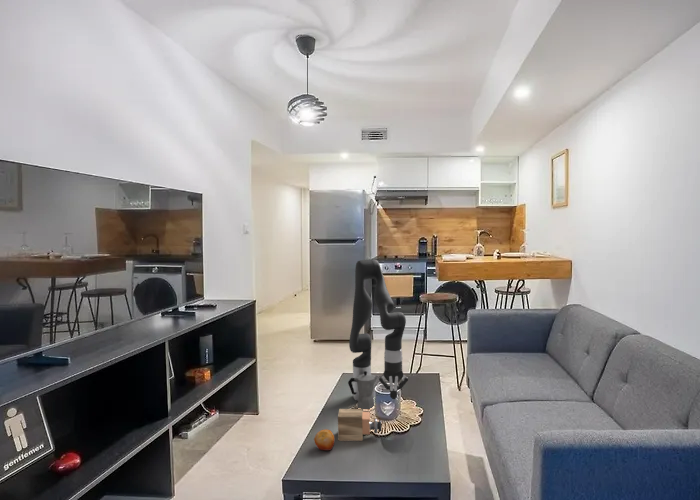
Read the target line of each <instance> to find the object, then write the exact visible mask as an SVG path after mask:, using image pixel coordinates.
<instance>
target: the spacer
mask: <svg viewBox="0 0 700 500" xmlns="http://www.w3.org/2000/svg"><path fill="white" fill-rule="evenodd" d="M370 412H371V411H363V414H362V432H363V435H370V434H371V432H370V431H371V430H370V422H371V419H370V418H371V415H370V414H371V413H370Z"/></svg>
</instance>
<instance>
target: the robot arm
mask: <svg viewBox="0 0 700 500" xmlns="http://www.w3.org/2000/svg"><path fill="white" fill-rule="evenodd" d="M382 270H383V269H382V267H381V265H380V262H379V261H378V260H377V259H373V258H372V259H362V260H357V262H356V264H355V270H354V272H355V273H354V277H355V278H354V280H355V281H354V283H355V286H354V296H353V297H354V298H353V305H352V308H353V309H352V320H351V321H352V322H351V330H350V334H349V340H348V341H349V344H348V345H349V350H350V352H351V353H353V354H358V353H361V354H360V355H358V356H356V357H355V358H353V360H352V378H354V377H357V376H359V375H362V374H364V371H367V374H370V375H372V338H371V336H370V334H369V333H360V332H361V330H362V328H364V326H365V324H366V323H367V322H368V321H369V319H370V318H371V316H372V311H373V300H374V302H375V304H376V306H377V309H378V312H379V319H380V321H379V322H380V325H381V327H382V328H383V329H384V330H385V331H390V330H391V331H392V332H391V333H388V334H386V335H385V338H384V354H383V355H384V356H383V357H384V358H383V360H384V361H383V362H384V366H383V367H384V369H383V370H384V371H383V374H382V375H379V376H378V380H379V382H380V383H381V385H382V386H383V387H384V388H385V390H389V397H390V398H391V400H396V399H397V397H398V391H400V390H401V389H403V388H404V386H405V385H406V383H407V382H408V381H409V378H408V376H406V375H405V374H404V372H403V349H402V347H403V346H402V343H403V342H402V339H403V335H404V331H405V329H406V325H407V323H406V321H407V320H406V316H405V314H404V313H403V312H402V311H401V312H400V311H395V312H393V311H394V309H395V303H394V301H393V299H392V297H391V295H390V293H389V291H388V287H387V285H386V281H385V277H384V274H383V271H382ZM372 279H374V280H375V281H376V286H375V289H374V291H373V298H374V299H373V300H372V297H371V296H370V295H369V292H367V290H366V287H365V280H372ZM385 379H386V381H387V382H388V383H389V384H388V383H387V382H386V381H385ZM398 383H399V384H398ZM352 386H353V389H354V392H357V393H356V394H354V395H353V394H352V395H353V400H355V401H357V402H358V398H359V391H358V386H357V382H352Z"/></svg>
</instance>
